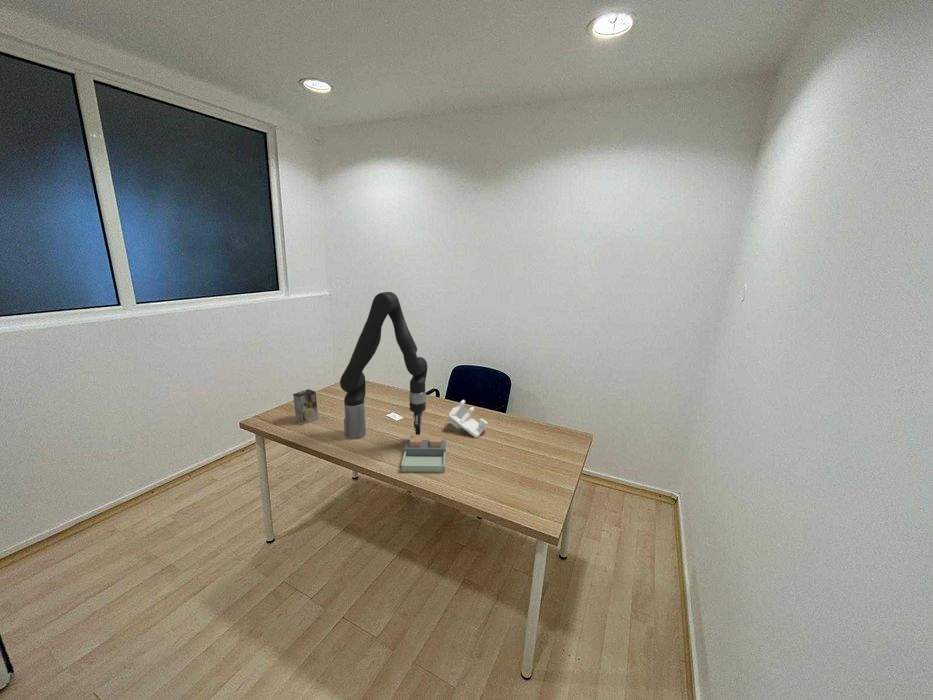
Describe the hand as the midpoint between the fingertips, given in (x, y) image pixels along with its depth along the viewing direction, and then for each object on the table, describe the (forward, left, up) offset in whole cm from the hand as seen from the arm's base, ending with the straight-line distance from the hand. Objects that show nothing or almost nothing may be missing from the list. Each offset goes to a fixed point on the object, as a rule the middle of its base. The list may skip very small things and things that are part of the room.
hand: (417, 434), depth 167 cm
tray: (+4, -18, -5) cm, 19 cm away
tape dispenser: (+24, +14, -5) cm, 28 cm away
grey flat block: (+4, -8, -5) cm, 10 cm away
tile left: (0, -7, -1) cm, 7 cm away
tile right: (+9, -7, -1) cm, 12 cm away
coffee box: (-62, +23, -5) cm, 66 cm away
